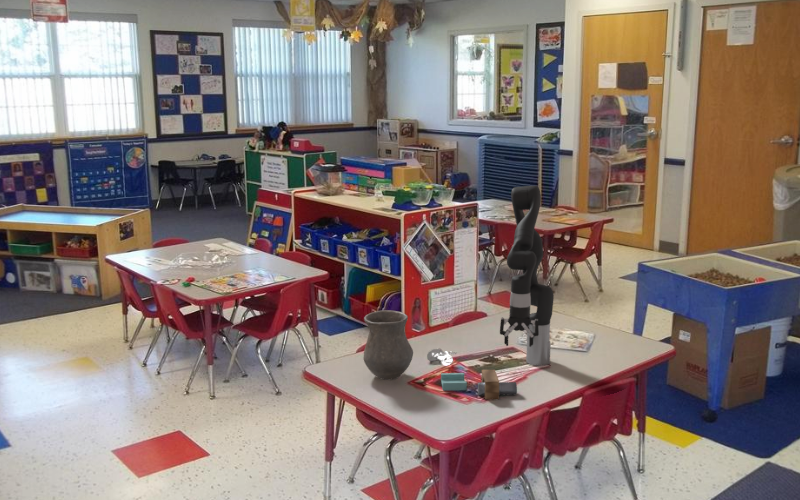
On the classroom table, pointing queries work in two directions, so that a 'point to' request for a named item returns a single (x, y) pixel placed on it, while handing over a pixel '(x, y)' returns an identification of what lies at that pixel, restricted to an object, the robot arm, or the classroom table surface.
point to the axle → (500, 388)
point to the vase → (387, 344)
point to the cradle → (453, 381)
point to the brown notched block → (490, 384)
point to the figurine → (440, 356)
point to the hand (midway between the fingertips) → (518, 345)
